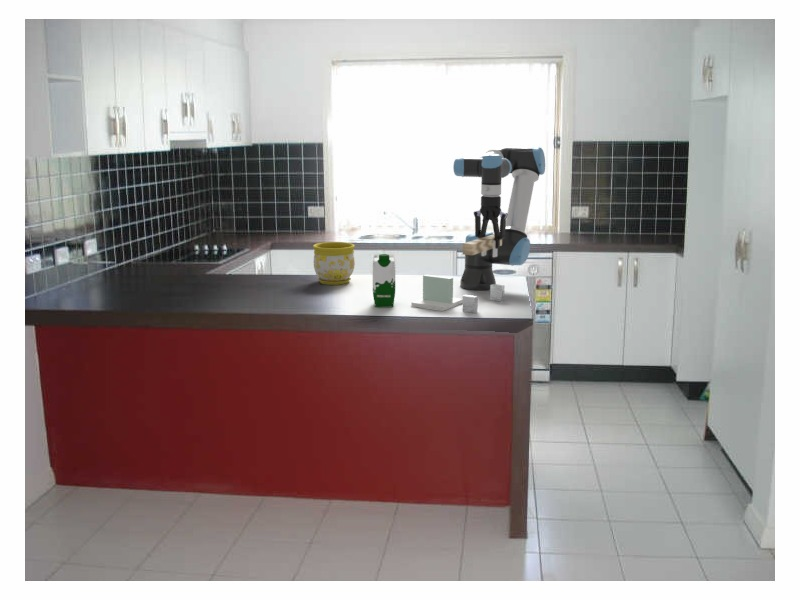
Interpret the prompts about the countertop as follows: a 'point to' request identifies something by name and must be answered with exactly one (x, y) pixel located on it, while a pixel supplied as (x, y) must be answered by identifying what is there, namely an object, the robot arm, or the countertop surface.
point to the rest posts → (472, 301)
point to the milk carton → (384, 281)
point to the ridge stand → (437, 293)
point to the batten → (479, 245)
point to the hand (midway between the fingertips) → (489, 256)
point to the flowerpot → (334, 262)
